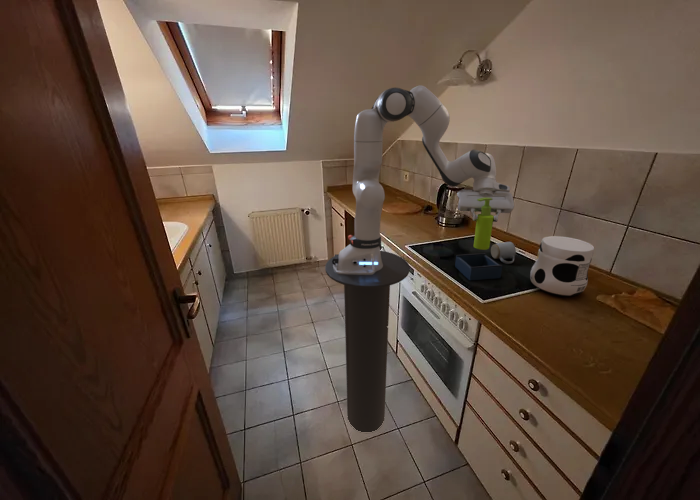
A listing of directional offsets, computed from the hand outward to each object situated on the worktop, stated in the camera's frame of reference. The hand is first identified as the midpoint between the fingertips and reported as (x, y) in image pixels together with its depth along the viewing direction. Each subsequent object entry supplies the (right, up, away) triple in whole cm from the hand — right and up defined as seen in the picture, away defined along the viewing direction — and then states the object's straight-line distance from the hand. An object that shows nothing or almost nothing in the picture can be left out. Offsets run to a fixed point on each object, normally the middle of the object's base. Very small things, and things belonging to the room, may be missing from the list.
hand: (485, 220), depth 115 cm
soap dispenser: (0, -10, +5) cm, 12 cm away
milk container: (+24, -26, -4) cm, 36 cm away
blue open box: (+1, -21, +9) cm, 23 cm away
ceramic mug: (+18, -16, +21) cm, 31 cm away
